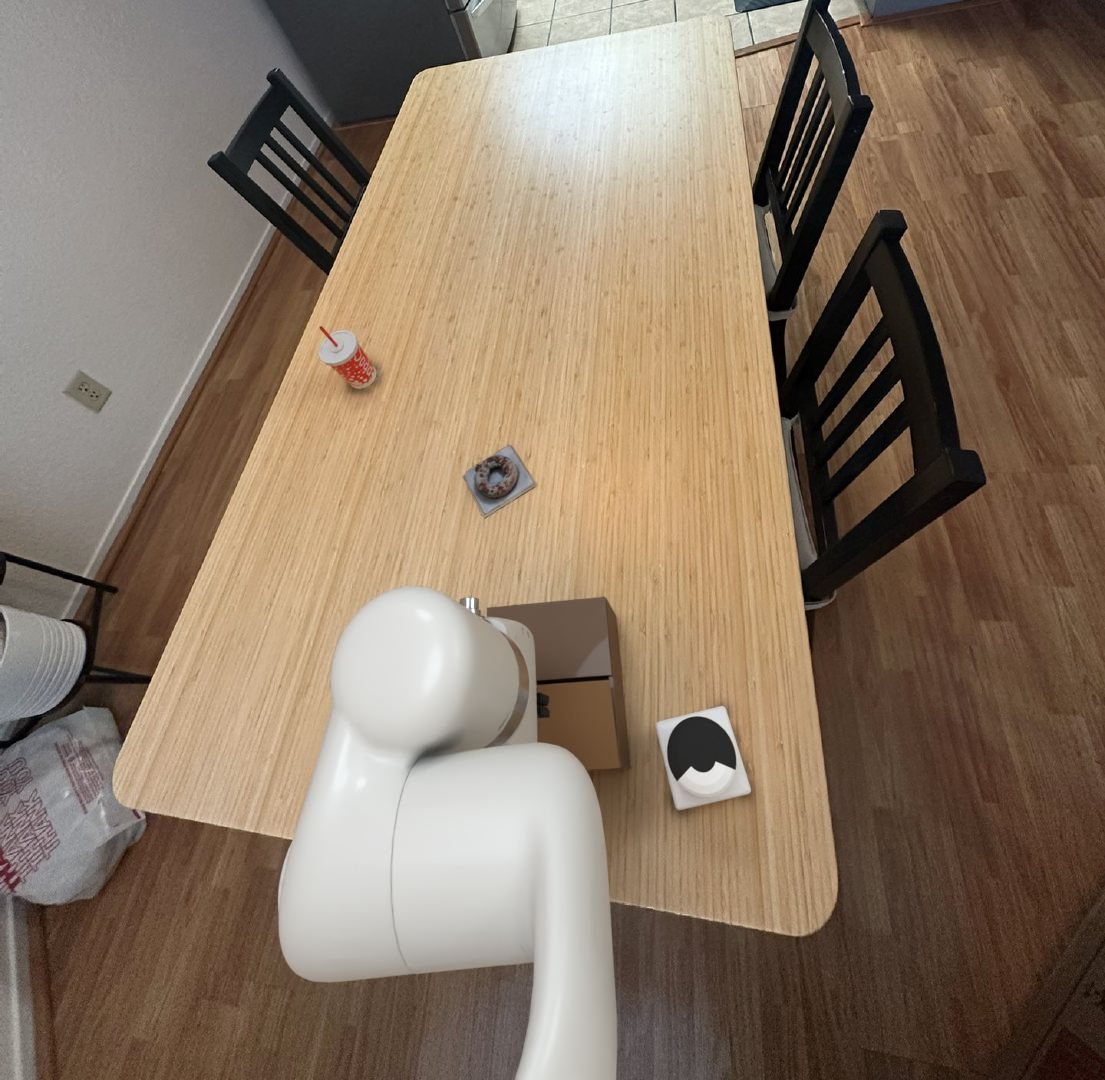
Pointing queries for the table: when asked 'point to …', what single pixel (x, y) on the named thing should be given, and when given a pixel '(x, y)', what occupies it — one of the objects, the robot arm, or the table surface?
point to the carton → (576, 649)
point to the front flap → (581, 722)
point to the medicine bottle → (702, 758)
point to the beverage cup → (347, 358)
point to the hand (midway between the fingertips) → (532, 708)
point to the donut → (498, 480)
